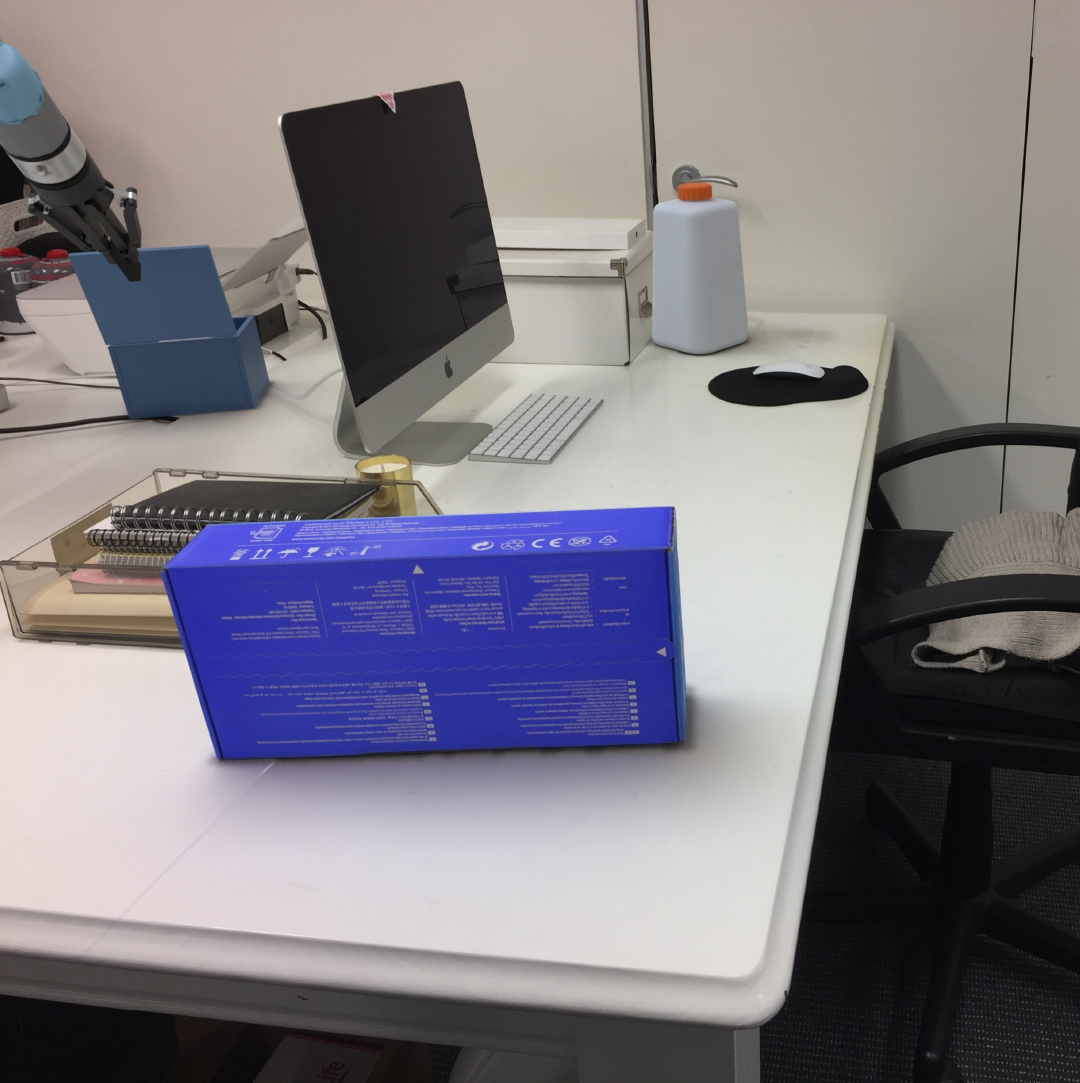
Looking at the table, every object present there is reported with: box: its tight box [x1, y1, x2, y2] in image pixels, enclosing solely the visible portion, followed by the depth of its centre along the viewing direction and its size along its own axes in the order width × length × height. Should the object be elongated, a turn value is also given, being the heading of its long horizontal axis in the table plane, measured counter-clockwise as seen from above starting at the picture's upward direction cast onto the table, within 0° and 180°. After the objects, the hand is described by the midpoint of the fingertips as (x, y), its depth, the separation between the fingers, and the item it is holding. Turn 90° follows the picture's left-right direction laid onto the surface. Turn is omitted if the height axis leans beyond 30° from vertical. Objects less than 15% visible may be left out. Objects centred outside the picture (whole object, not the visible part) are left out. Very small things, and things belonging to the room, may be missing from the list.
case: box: [107, 315, 271, 420], centre depth 167 cm, size 14×19×12 cm
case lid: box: [68, 244, 237, 346], centre depth 153 cm, size 14×19×1 cm
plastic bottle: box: [651, 182, 749, 355], centre depth 186 cm, size 15×15×28 cm
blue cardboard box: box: [159, 505, 687, 761], centre depth 85 cm, size 39×8×18 cm, turn 91°
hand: (135, 272), depth 146 cm, fingers closed
